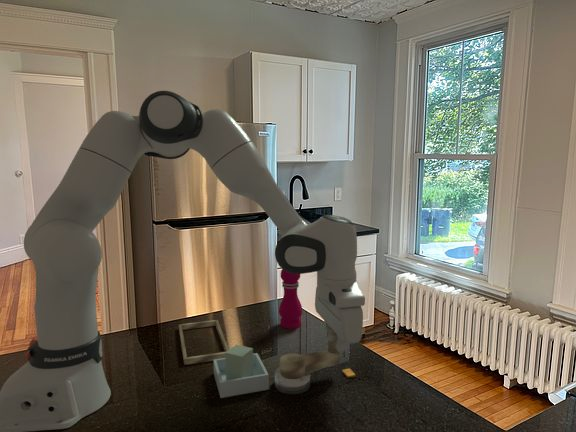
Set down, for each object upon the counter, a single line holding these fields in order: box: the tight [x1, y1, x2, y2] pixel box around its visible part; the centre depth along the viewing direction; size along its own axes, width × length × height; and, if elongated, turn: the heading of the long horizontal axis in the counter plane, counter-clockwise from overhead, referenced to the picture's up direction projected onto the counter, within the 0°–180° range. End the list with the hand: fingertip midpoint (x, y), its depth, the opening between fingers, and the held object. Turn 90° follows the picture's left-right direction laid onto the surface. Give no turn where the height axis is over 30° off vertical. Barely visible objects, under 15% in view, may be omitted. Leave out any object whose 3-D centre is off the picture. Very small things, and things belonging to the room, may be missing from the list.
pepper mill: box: [278, 268, 304, 330], centre depth 126 cm, size 7×7×20 cm
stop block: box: [224, 344, 254, 380], centre depth 95 cm, size 4×4×7 cm
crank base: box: [274, 366, 356, 395], centre depth 96 cm, size 19×8×3 cm, turn 108°
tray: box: [212, 352, 270, 399], centre depth 96 cm, size 11×11×4 cm
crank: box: [279, 327, 341, 378], centre depth 95 cm, size 15×6×8 cm, turn 113°
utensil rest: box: [178, 319, 230, 366], centre depth 116 cm, size 12×23×2 cm, turn 18°
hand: (335, 344), depth 96 cm, fingers open, 5 cm apart
